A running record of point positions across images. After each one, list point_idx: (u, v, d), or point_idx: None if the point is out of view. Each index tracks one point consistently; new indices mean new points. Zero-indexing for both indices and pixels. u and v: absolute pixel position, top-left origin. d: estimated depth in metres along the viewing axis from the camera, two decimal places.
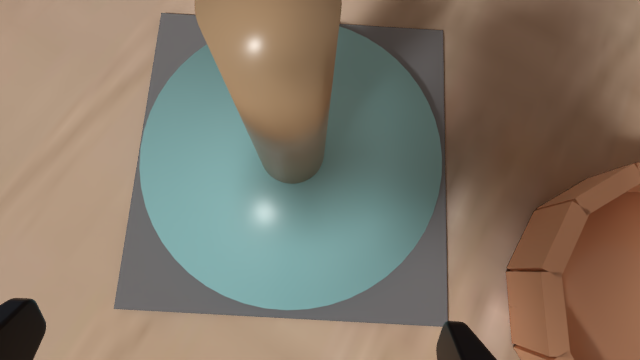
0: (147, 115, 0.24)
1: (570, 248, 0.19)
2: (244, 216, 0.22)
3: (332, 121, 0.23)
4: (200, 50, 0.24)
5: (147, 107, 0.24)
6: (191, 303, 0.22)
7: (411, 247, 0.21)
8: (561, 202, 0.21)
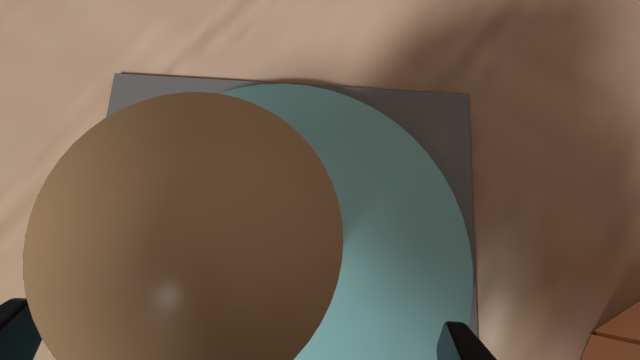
0: None
1: None
2: None
3: None
4: None
5: None
6: None
7: None
8: (635, 339, 0.16)
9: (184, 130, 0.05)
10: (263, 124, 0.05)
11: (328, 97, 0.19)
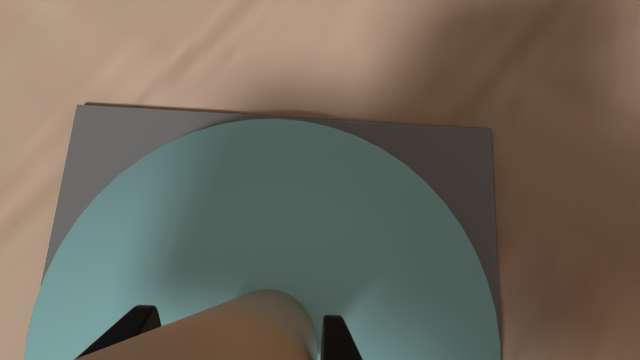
0: None
1: None
2: None
3: (329, 287, 0.15)
4: (127, 170, 0.16)
5: (49, 254, 0.16)
6: None
7: None
8: None
9: None
10: None
11: (327, 135, 0.16)
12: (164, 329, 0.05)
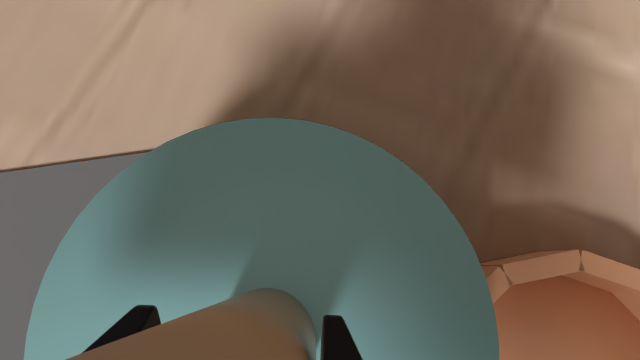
0: None
1: None
2: None
3: (328, 286, 0.15)
4: (126, 169, 0.16)
5: None
6: None
7: None
8: None
9: None
10: None
11: (326, 134, 0.16)
12: (162, 327, 0.05)
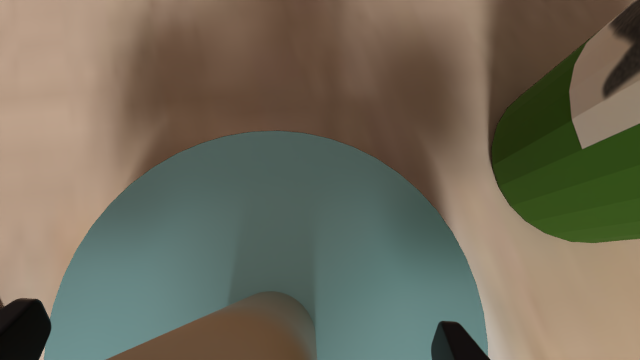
0: None
1: None
2: None
3: (328, 289, 0.16)
4: (139, 179, 0.17)
5: None
6: None
7: None
8: None
9: None
10: None
11: (326, 146, 0.17)
12: (189, 327, 0.06)
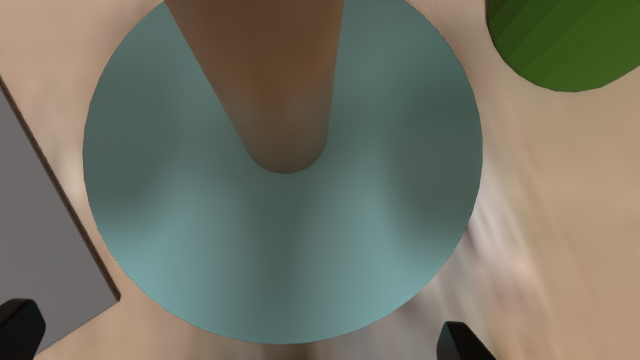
0: None
1: None
2: (221, 217, 0.16)
3: (338, 93, 0.17)
4: None
5: None
6: None
7: (444, 258, 0.16)
8: None
9: None
10: None
11: None
12: None
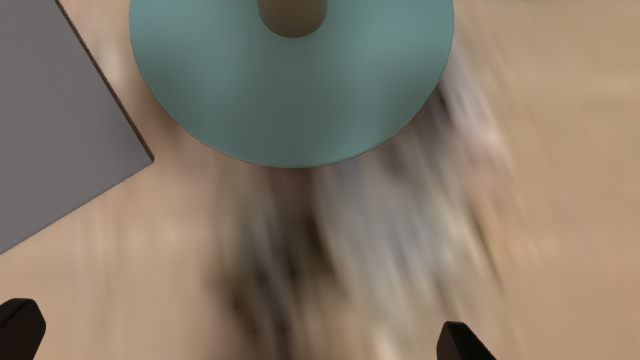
0: None
1: None
2: (241, 69, 0.20)
3: None
4: None
5: None
6: None
7: (421, 102, 0.20)
8: None
9: None
10: None
11: None
12: None
